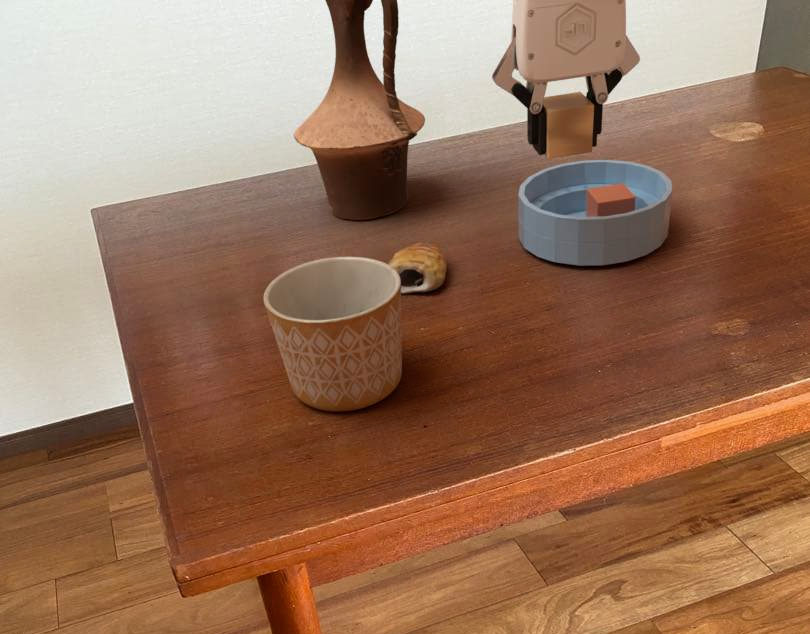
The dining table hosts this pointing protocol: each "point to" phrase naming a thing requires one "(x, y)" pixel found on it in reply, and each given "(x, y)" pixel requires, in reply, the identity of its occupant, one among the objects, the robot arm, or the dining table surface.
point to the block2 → (609, 201)
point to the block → (568, 125)
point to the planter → (338, 330)
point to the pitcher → (362, 121)
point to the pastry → (420, 267)
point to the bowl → (593, 236)
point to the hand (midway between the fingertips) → (564, 144)
